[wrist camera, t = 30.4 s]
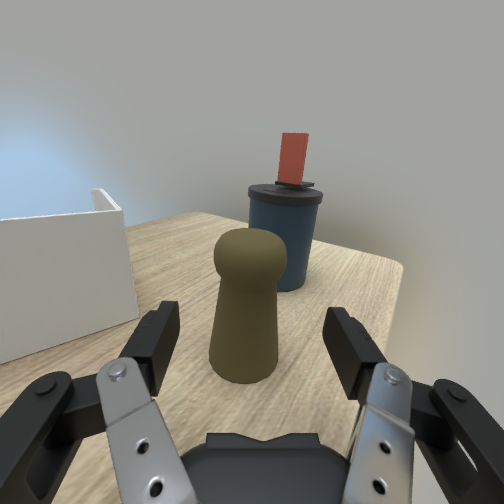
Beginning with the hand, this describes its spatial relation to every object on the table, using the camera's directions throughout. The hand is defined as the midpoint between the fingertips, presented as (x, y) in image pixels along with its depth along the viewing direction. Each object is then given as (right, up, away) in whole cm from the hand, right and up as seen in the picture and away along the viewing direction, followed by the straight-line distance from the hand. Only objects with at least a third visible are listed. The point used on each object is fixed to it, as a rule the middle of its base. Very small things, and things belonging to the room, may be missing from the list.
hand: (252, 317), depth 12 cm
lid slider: (+6, +12, +18) cm, 22 cm away
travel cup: (+3, 0, +21) cm, 21 cm away
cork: (-1, -5, +8) cm, 10 cm away
